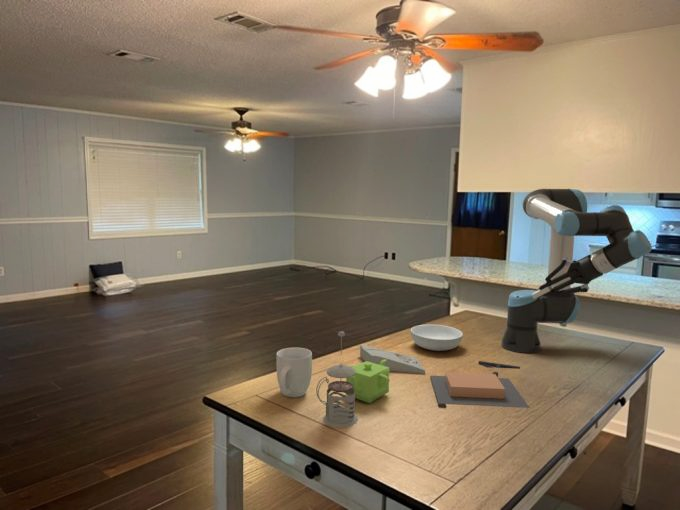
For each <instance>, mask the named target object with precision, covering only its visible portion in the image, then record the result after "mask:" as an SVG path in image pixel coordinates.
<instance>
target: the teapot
mask: <svg viewBox="0 0 680 510" xmlns="http://www.w3.org/2000/svg"><path fill="white" fill-rule="evenodd" d="M385 362H386V359H384V360H382V361H381V362H380V364H375V363H371V362H368V361H365V362H364V361H363V362H361V363H359V364H356V365H350V366H349V365H348V366H349V367H352V368H353V369H354V370H355V371H356V373H355V375H354V376H352V377H348V378H345V381H347V382H350V383H352V384H353V385H354V388H353V389H354V390H355V398H357V399H356V400H360V401H362V402H365V403H367V404H373V403H372V402H374V401H375V400H378V399H381V398H383V396H384V395H386V394H387V393H389V392H390V391H389V390H390V387H389V386H390V380H391V379H390V371H389V367H386V366H384V364H385ZM345 395H346V396H350V394H346V393H345ZM380 397H381V398H380Z"/></svg>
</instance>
